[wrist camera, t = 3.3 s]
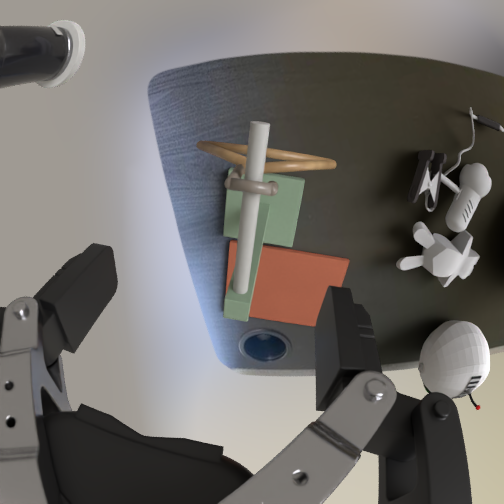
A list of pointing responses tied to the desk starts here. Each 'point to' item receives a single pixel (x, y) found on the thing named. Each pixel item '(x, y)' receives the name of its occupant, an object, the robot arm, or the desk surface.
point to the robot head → (454, 359)
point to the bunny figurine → (442, 255)
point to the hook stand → (257, 221)
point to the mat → (291, 283)
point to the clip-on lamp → (471, 182)
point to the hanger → (271, 188)
